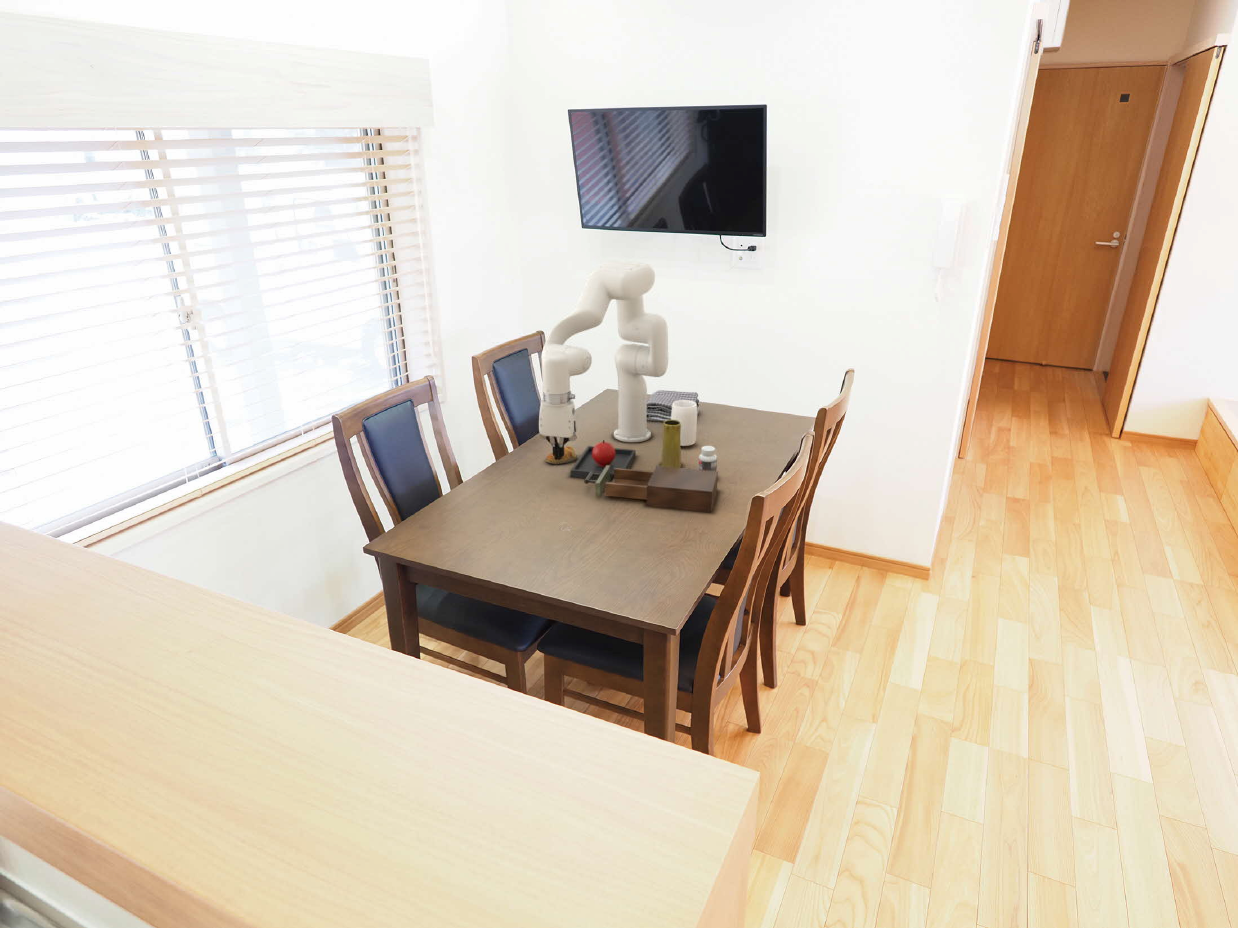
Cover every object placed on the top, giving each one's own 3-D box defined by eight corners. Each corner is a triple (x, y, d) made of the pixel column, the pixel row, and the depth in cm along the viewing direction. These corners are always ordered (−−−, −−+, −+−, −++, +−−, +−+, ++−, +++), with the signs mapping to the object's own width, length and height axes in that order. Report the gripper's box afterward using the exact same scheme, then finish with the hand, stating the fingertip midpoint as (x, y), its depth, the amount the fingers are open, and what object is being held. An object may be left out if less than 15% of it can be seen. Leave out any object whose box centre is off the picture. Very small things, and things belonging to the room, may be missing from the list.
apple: (595, 458, 245) (595, 435, 242) (618, 460, 244) (617, 436, 241) (589, 467, 239) (589, 443, 236) (612, 470, 237) (612, 445, 234)
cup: (701, 444, 258) (703, 403, 252) (685, 451, 252) (686, 410, 247) (681, 438, 263) (682, 397, 258) (665, 445, 258) (665, 404, 252)
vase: (675, 471, 238) (676, 427, 232) (657, 467, 241) (658, 423, 235) (684, 464, 243) (685, 421, 237) (667, 460, 246) (668, 417, 240)
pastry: (553, 467, 241) (553, 456, 240) (541, 461, 246) (541, 449, 244) (578, 460, 246) (578, 448, 245) (566, 453, 251) (565, 442, 250)
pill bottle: (694, 479, 233) (695, 448, 229) (704, 473, 237) (705, 443, 233) (709, 483, 230) (710, 453, 226) (719, 478, 233) (721, 447, 230)
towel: (652, 407, 292) (652, 387, 289) (701, 412, 287) (702, 391, 284) (642, 421, 278) (642, 400, 275) (693, 426, 274) (693, 404, 271)
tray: (588, 452, 252) (587, 445, 251) (635, 456, 249) (635, 449, 248) (570, 477, 235) (570, 470, 234) (621, 481, 231) (621, 474, 230)
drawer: (581, 495, 221) (580, 481, 219) (592, 477, 232) (592, 463, 230) (653, 502, 216) (654, 488, 215) (662, 484, 228) (662, 470, 226)
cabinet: (646, 506, 217) (646, 485, 214) (655, 485, 229) (656, 465, 226) (711, 512, 213) (712, 491, 210) (716, 491, 225) (717, 471, 223)
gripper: (586, 395, 219) (587, 455, 226) (535, 391, 222) (538, 451, 230) (578, 403, 213) (580, 465, 220) (526, 399, 216) (529, 460, 223)
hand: (558, 458), depth 225 cm, fingers closed
